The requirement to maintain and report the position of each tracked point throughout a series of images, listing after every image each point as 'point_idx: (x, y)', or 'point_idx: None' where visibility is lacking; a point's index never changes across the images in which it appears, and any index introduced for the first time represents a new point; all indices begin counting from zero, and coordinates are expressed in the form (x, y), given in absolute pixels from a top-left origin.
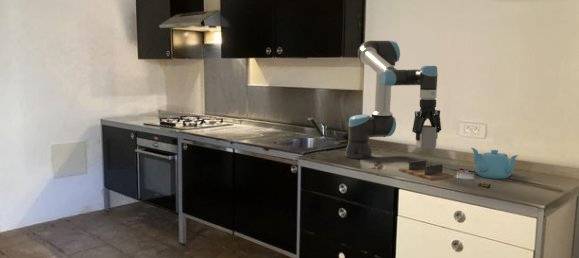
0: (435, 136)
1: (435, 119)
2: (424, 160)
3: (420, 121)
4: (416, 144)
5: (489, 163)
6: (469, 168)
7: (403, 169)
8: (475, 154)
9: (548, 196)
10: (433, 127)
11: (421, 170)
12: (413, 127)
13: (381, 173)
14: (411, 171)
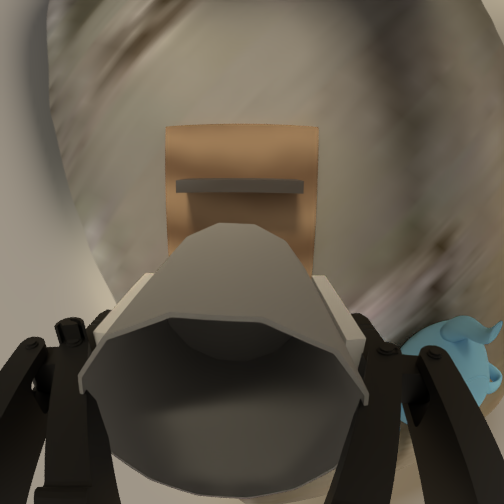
0: (273, 413)
1: (455, 477)
2: (291, 190)
3: (59, 474)
4: (138, 281)
5: (404, 416)
6: (468, 250)
7: (170, 156)
8: (472, 338)
9: (321, 492)
10: (228, 496)
11: (238, 216)
12: (7, 376)
13: (75, 145)
14: (176, 211)
